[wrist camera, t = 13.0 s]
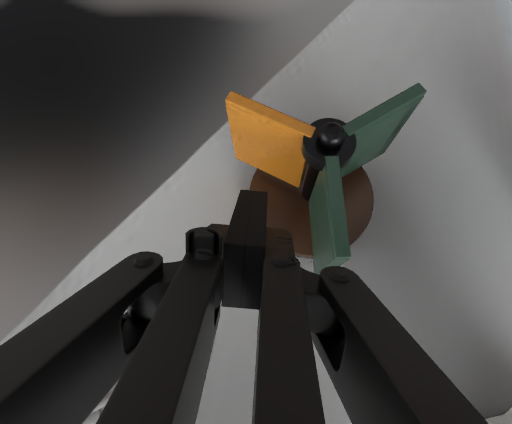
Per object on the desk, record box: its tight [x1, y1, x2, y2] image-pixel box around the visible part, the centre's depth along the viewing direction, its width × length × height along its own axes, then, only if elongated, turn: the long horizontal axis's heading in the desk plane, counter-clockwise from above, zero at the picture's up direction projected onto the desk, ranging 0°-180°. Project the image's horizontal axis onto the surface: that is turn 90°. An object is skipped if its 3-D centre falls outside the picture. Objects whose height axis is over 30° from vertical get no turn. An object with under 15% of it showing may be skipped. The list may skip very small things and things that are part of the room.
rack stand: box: [250, 163, 373, 258], centre depth 31 cm, size 12×12×1 cm
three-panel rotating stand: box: [226, 83, 426, 275], centre depth 25 cm, size 14×14×11 cm
